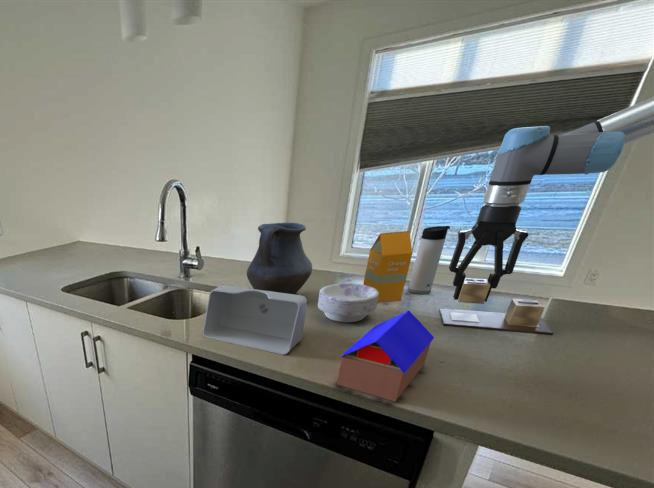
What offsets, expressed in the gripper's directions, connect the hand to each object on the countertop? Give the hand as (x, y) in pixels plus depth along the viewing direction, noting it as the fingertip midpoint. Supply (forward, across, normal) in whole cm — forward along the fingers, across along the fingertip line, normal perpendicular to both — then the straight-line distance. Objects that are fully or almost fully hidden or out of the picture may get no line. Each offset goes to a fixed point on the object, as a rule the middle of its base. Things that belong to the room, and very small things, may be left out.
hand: (469, 298), depth 106 cm
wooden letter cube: (0, 0, 0) cm, 0 cm away
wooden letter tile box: (+5, +12, 0) cm, 13 cm away
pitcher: (+6, -51, +5) cm, 52 cm away
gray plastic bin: (+6, -50, -26) cm, 56 cm away
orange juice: (+6, -20, +14) cm, 25 cm away
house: (+6, -19, -39) cm, 44 cm away
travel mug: (+6, -9, +23) cm, 25 cm away
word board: (+6, +6, 0) cm, 8 cm away
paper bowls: (+6, -29, -6) cm, 30 cm away
